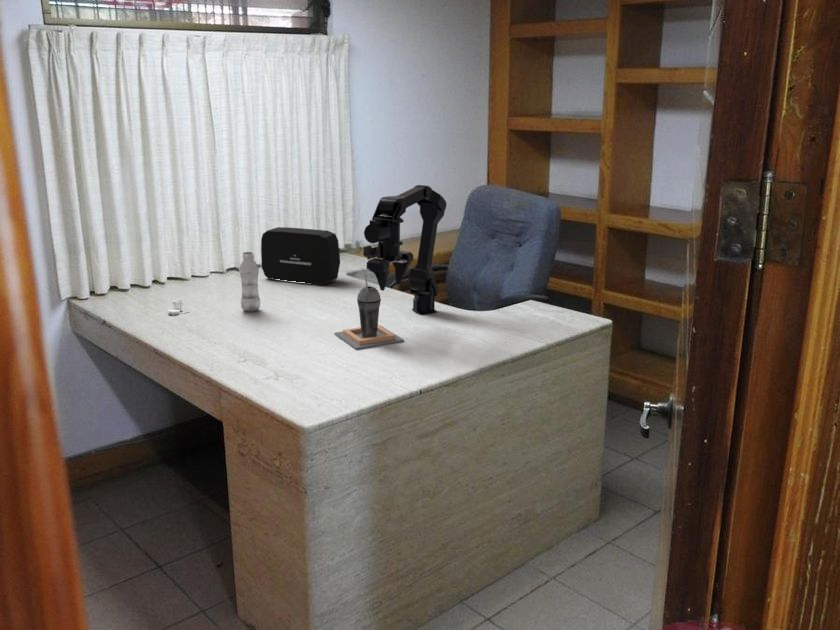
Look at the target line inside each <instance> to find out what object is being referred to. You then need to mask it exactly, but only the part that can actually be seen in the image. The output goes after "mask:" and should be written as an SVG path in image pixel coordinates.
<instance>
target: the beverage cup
mask: <svg viewBox="0 0 840 630" xmlns="http://www.w3.org/2000/svg"><path fill="white" fill-rule="evenodd" d="M367 277H368V276H367V272H364V278H365V279H364V280H365V286H364V287H362V288H361V289H360V290H359V292H358V294H357V297H356V301H357V305H358V311H359V323H360V324H359V325H360V327H361V332H362V337H363V338H370V337H376V336H377V329H378V325H379V314H380V306H381V302H382V298H381V294H380V292H379V291H378V289H376V288H375V287H373V286H371V285H370V286H369V285H368V278H367Z"/></svg>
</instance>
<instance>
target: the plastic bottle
mask: <svg viewBox="0 0 840 630" xmlns="http://www.w3.org/2000/svg"><path fill="white" fill-rule="evenodd" d="M241 255H242V261H241V263H240V265H239V268H238V271H239V278H240V283H241V298H240V307H241V309H242V310H243V311H244V312H256V311H258V310H260V308H261V299H260V294H259V285H258V283H259V281H258V280H259V269H260V268H259V265H258V264H257V262H256V261H255V260H254V259H255V255H254V252H252V251H246V252H242V254H241Z"/></svg>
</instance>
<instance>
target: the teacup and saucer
mask: <svg viewBox="0 0 840 630" xmlns="http://www.w3.org/2000/svg"><path fill="white" fill-rule="evenodd" d="M172 306H173V307H172V308H174V310H169V309H168V310H169V314H168V315H183V314H182V313H183V312H182V311H183V309H182V307H183V299H179V298H178V299H173V300H172ZM180 311H181V312H180ZM179 313H180V314H179Z"/></svg>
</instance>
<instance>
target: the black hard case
mask: <svg viewBox="0 0 840 630" xmlns="http://www.w3.org/2000/svg"><path fill="white" fill-rule="evenodd" d="M260 241H261V242H260V253H261V254H260V256H261V269H262V272H263V275H264V276H265V277H266V278H267V279H268V278H273V279H280V280H287V281H296V282H305V283H311V284H310V285H315V284H319V285H320V286H324V285H327V284H329V283H331V282H333V281H335V280H337V279H338V277H339V271H340V265H341V257H340V256H341V255H340V243H339V239H338V237H337V235H336V233H334V232H331V231H330V230H325V229H324V230H323V229H313V228H312V229H310V228H301V227H285V226H284V227H280V226H278V227H274V228H271V229H268V230H266V231H265V232H263V233H262V235H261V239H260ZM273 279H272V280H273Z"/></svg>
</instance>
